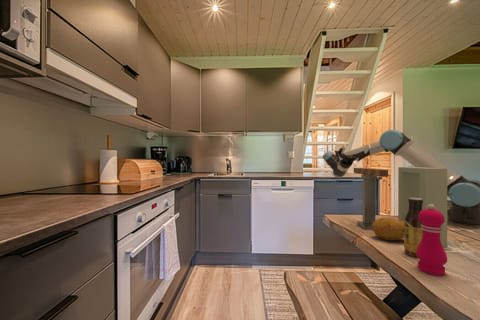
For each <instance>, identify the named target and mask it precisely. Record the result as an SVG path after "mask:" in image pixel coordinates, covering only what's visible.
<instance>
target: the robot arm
mask: <svg viewBox="0 0 480 320" xmlns="http://www.w3.org/2000/svg"><path fill="white" fill-rule="evenodd" d="M346 149H347V145H346V143H343V145H342V147H340V148H339V150H334V153H335V154H334V153H333V152H332V151H331V150H328V151H327V152H325V153H324V154H323V155H322V159H323V160H324V162H326V164H327V165H328V166H329V167H330V169H331V170H332V174H333V176H334V177H335V178H337V179H340V178H343V177H344V175H346V173H347V172H348V171H349V170H350V168H351V167H352V165H353V163H354V162H355V161H357V163H359V162H361V161H362V160H363V159H365V158H367V157H369V156H373V155H377V154H380V153H382V152H383V153H389V152H390V153H391V154H393V155H394V156H395V157H396V156H397V157H398V156H399V157H401V158H402V159H404V160H405V161H407V162H408V164H410V165H412V167H421V168H444V169H447V168H446V167H444V166H443V165H442V164H440V163H439V162H437V160H435V159H433V158H432V157H430V155H428V154H426V152H424V151H422V150H421V149H419V148H418V147H417V146H415V145H414V144H413V140H412V139H411V138H409V137H408V136H406V134H405V133H403V132H402V131H399V130H397V129H387V130H385V131H384V132H383V133H382V134H381V135H380V136H379V141H375V142H373V143H372V142H371V143H367V144H366V145H363V146H360V147H357V148H353V149H351V150H348V151H346ZM447 198H449V199H450V206H449V209H448V210H447V221H450V222H453V223H458V224H463V225H471V226H472V225H473V226H480V179H477V178H476V179H474V178H466V177H465V176H463V175H461V174H454V173H453V172H451V171H450V170H449V169H447Z"/></svg>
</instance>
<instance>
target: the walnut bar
mask: <svg viewBox="0 0 480 320" xmlns="http://www.w3.org/2000/svg"><path fill="white" fill-rule="evenodd" d="M353 174H357V175H371V176H377V177H379V178H388V177H389V169H380V168H365V167H353Z"/></svg>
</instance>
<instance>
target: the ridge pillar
mask: <svg viewBox="0 0 480 320" xmlns="http://www.w3.org/2000/svg"><path fill="white" fill-rule="evenodd" d="M360 176H361V179H362V220H357V221H356V225H357V226H358V227H359V228H361V229H363V230H369V231H373V229H372V224H373V222H374V221H375V220H376V208H377V207H376V197H377V195H376V189H377V187H376V183H377V181H376V180H377V179H378V176H371V175H364V174H360Z"/></svg>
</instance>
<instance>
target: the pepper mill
mask: <svg viewBox="0 0 480 320" xmlns="http://www.w3.org/2000/svg"><path fill="white" fill-rule="evenodd" d="M427 207H428V209H424V210H422V211H421V212H420V213H419V220H420V221H421V222H422V224H421V229H422V232H423V235H422V240H421V242H420V243H419V245H418V247H417V250H416V256H417V257H416V258H418V259H419V260H418V262H417V268H418V269H419V270H420V271H421V272H423V273H425V274H428V275H429V274H430V275H432V276H445V274H446V267H445V265H446V264H447V263H448V256H447V252H446V250H445V248H444V246H442V244H441V240H440V233H441V232H442V227H441V225H442V224H443V223H444V222H445V219H444V215H443V214H442V213H441V212H439V211H437V210H434V209H435V206H434V205H433V204H429V205H428V206H427Z"/></svg>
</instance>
